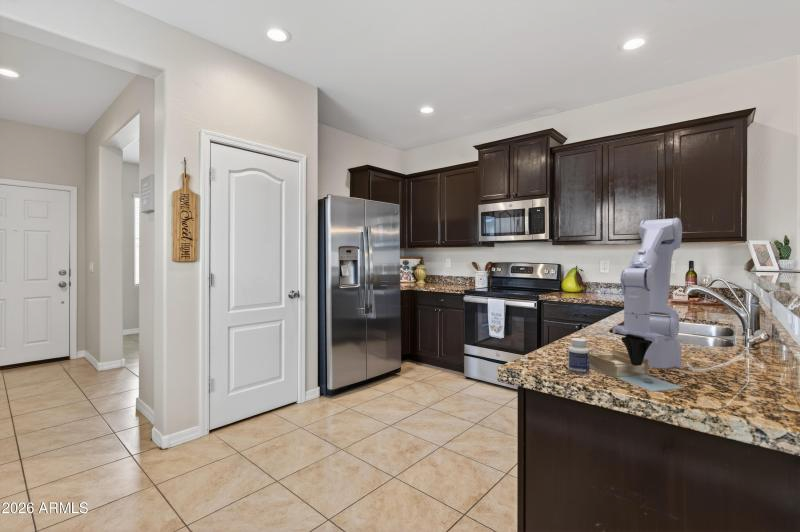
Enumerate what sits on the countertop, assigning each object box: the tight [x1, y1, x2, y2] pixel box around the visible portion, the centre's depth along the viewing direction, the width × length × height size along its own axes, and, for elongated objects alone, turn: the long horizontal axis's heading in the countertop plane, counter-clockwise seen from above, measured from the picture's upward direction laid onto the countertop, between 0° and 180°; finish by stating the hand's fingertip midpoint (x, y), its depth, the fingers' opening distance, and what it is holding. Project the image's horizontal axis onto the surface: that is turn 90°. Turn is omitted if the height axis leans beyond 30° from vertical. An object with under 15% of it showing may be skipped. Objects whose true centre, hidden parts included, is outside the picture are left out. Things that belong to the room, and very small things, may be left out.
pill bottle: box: [567, 337, 591, 375], centre depth 107 cm, size 5×5×10 cm
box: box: [590, 349, 649, 379], centre depth 109 cm, size 11×12×5 cm
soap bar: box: [612, 360, 625, 365], centre depth 109 cm, size 5×3×2 cm, turn 102°
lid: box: [616, 374, 685, 392], centre depth 97 cm, size 9×11×2 cm
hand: (636, 364), depth 101 cm, fingers closed
